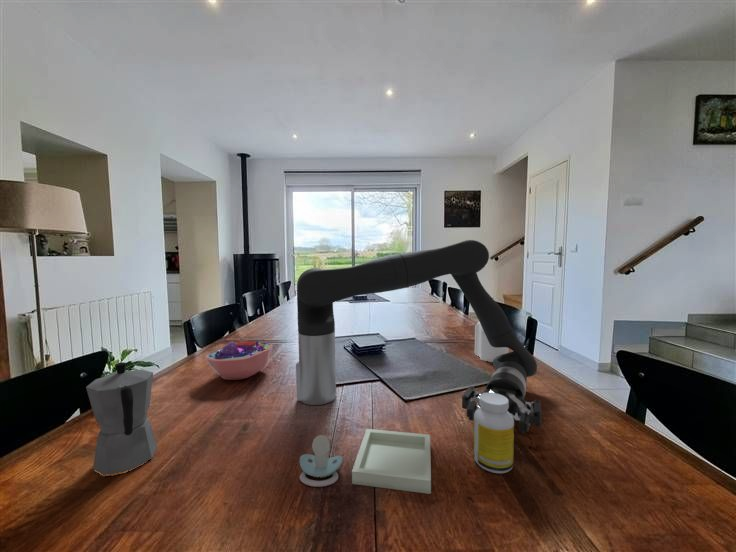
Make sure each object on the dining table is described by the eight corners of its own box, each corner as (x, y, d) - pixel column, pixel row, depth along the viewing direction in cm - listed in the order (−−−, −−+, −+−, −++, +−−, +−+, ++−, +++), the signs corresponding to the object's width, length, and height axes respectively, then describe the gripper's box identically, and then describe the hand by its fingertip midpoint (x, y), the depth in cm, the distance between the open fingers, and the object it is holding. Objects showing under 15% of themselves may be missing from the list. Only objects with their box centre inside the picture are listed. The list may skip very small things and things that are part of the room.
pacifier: (338, 491, 49) (344, 464, 55) (337, 453, 48) (344, 430, 54) (292, 488, 50) (304, 462, 55) (291, 451, 49) (302, 429, 55)
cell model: (286, 370, 99) (285, 335, 99) (229, 395, 83) (227, 353, 82) (252, 361, 108) (250, 329, 108) (194, 381, 92) (192, 343, 91)
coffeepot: (90, 454, 58) (83, 360, 57) (151, 434, 65) (146, 349, 63) (94, 501, 47) (86, 385, 46) (167, 471, 53) (161, 368, 52)
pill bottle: (517, 478, 51) (519, 409, 50) (476, 472, 52) (477, 405, 51) (508, 453, 57) (509, 391, 56) (471, 449, 59) (472, 389, 58)
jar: (512, 362, 105) (513, 318, 104) (483, 362, 105) (484, 318, 104) (497, 351, 116) (498, 311, 115) (472, 352, 116) (472, 312, 115)
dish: (352, 483, 50) (351, 471, 50) (366, 438, 62) (366, 428, 62) (430, 494, 48) (430, 480, 48) (430, 445, 60) (430, 434, 60)
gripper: (473, 366, 73) (455, 392, 59) (543, 377, 66) (541, 411, 52) (473, 397, 74) (455, 430, 60) (542, 412, 67) (540, 454, 53)
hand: (495, 421), depth 56 cm, fingers open, 8 cm apart
